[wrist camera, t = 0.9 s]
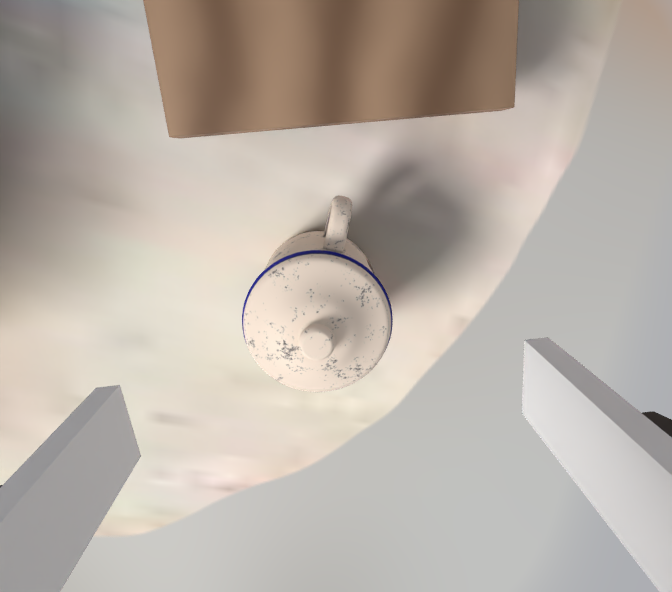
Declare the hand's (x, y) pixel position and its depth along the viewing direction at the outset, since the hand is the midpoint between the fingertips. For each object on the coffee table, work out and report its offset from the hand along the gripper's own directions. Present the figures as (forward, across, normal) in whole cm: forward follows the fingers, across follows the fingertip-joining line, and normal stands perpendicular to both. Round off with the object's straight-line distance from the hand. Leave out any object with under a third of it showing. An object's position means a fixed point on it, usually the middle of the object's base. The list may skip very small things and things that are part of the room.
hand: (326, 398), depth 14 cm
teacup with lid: (+21, 0, -1) cm, 21 cm away
